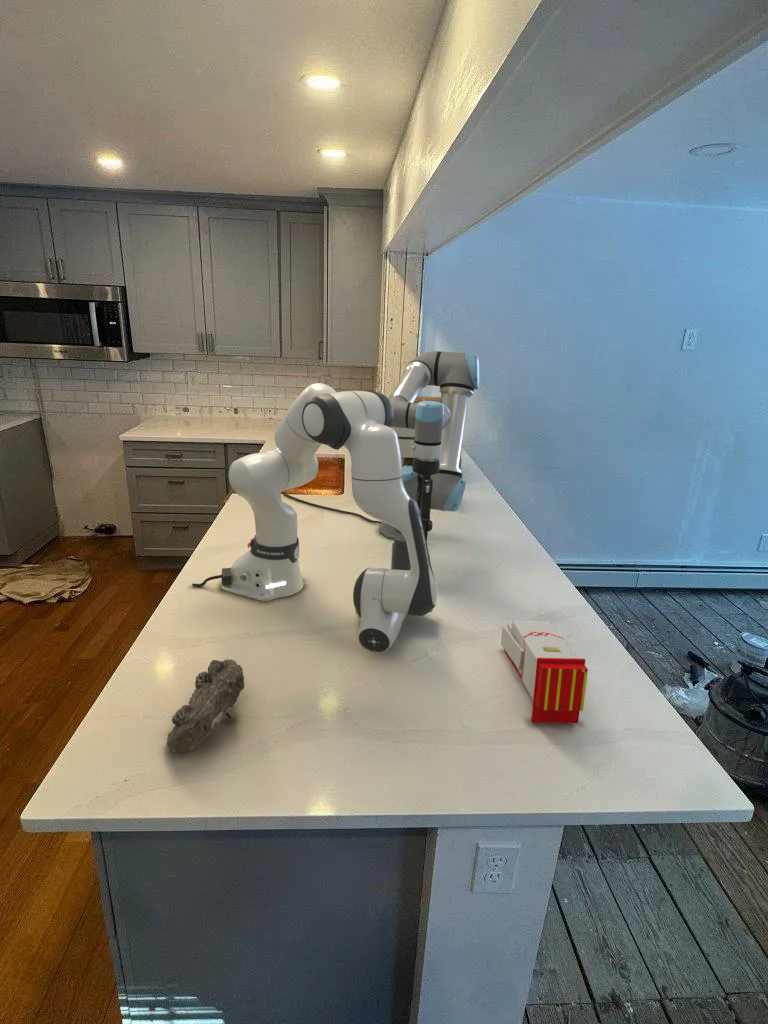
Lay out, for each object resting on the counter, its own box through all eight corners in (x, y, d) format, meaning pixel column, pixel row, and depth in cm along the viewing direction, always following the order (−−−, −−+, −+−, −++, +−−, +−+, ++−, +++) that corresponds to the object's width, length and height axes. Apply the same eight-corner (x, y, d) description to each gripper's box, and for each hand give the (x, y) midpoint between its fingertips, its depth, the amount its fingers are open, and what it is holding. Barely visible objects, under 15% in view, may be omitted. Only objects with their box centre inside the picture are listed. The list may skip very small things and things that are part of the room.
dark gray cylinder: (391, 609, 150) (394, 542, 143) (387, 600, 154) (391, 534, 148) (410, 608, 150) (414, 541, 144) (406, 599, 155) (410, 534, 149)
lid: (425, 523, 168) (425, 516, 167) (436, 530, 162) (436, 523, 162) (407, 526, 165) (407, 519, 164) (417, 533, 160) (418, 526, 159)
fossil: (192, 660, 117) (244, 628, 112) (224, 691, 120) (276, 661, 115) (142, 746, 98) (202, 712, 93) (182, 779, 101) (242, 748, 96)
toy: (547, 606, 135) (596, 665, 106) (541, 658, 138) (589, 729, 108) (496, 604, 134) (532, 664, 105) (492, 657, 137) (526, 729, 108)
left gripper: (432, 602, 135) (440, 577, 148) (350, 589, 139) (364, 566, 152) (430, 625, 137) (438, 598, 150) (349, 612, 141) (363, 587, 154)
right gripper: (410, 450, 166) (405, 524, 173) (416, 466, 148) (411, 548, 155) (435, 450, 166) (429, 524, 174) (445, 467, 148) (438, 549, 156)
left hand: (400, 582), depth 151 cm, fingers closed on dark gray cylinder, 5 cm apart
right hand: (420, 535), depth 164 cm, fingers closed on lid, 6 cm apart
